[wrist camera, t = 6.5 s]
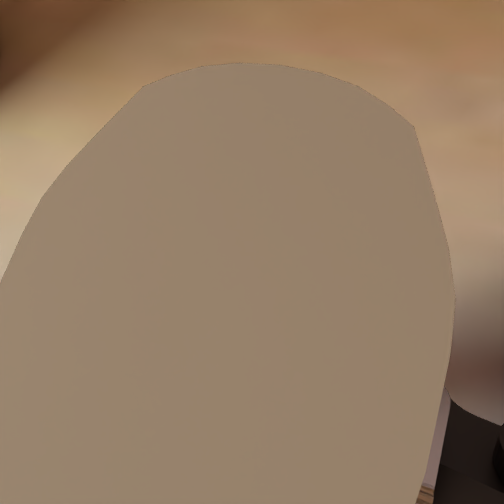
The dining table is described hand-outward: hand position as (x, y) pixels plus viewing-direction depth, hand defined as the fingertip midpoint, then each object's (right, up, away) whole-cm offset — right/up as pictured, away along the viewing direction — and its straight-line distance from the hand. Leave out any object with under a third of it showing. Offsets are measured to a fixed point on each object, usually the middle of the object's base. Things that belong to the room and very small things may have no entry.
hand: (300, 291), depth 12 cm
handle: (+1, -4, +7) cm, 8 cm away
